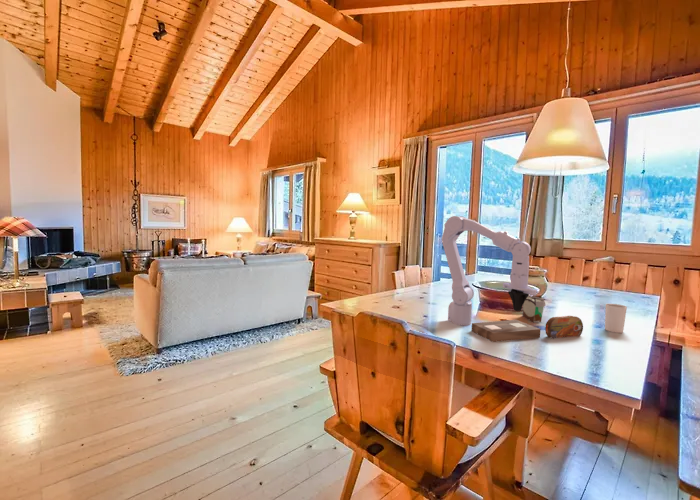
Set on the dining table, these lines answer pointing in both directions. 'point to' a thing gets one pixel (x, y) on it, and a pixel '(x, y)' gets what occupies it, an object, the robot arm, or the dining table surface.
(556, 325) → the tin
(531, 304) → the food container
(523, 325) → the key back
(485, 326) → the pale pink block
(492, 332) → the panel
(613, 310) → the beige cup
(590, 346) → the dining table surface
